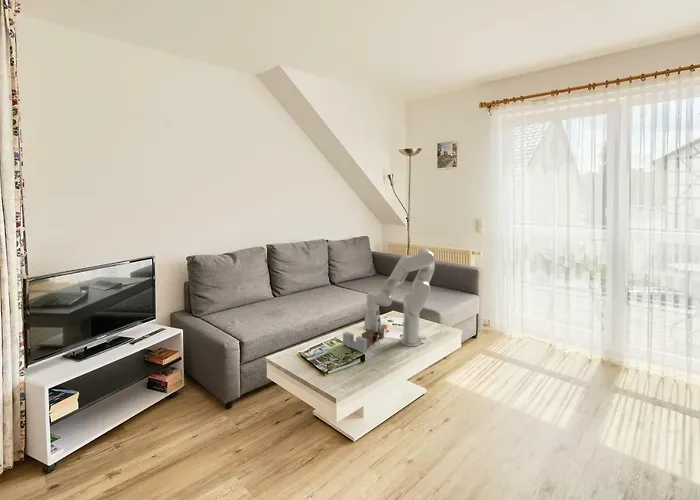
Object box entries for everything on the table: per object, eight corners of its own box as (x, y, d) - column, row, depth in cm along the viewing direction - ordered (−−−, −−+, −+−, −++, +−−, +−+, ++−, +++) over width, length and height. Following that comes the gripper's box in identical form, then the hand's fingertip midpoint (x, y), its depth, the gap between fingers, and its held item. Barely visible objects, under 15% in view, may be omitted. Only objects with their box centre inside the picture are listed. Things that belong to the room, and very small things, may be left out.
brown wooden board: (380, 336, 251) (380, 324, 249) (383, 337, 249) (384, 326, 247) (361, 346, 237) (361, 333, 235) (365, 347, 235) (365, 334, 233)
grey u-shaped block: (343, 345, 237) (343, 333, 235) (346, 344, 239) (346, 331, 238) (363, 353, 227) (363, 340, 225) (366, 351, 229) (367, 338, 227)
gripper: (387, 313, 236) (386, 342, 239) (366, 308, 247) (365, 335, 250) (379, 317, 231) (379, 346, 234) (358, 311, 241) (358, 339, 244)
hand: (372, 340), depth 242 cm, fingers closed on brown wooden board, 3 cm apart
